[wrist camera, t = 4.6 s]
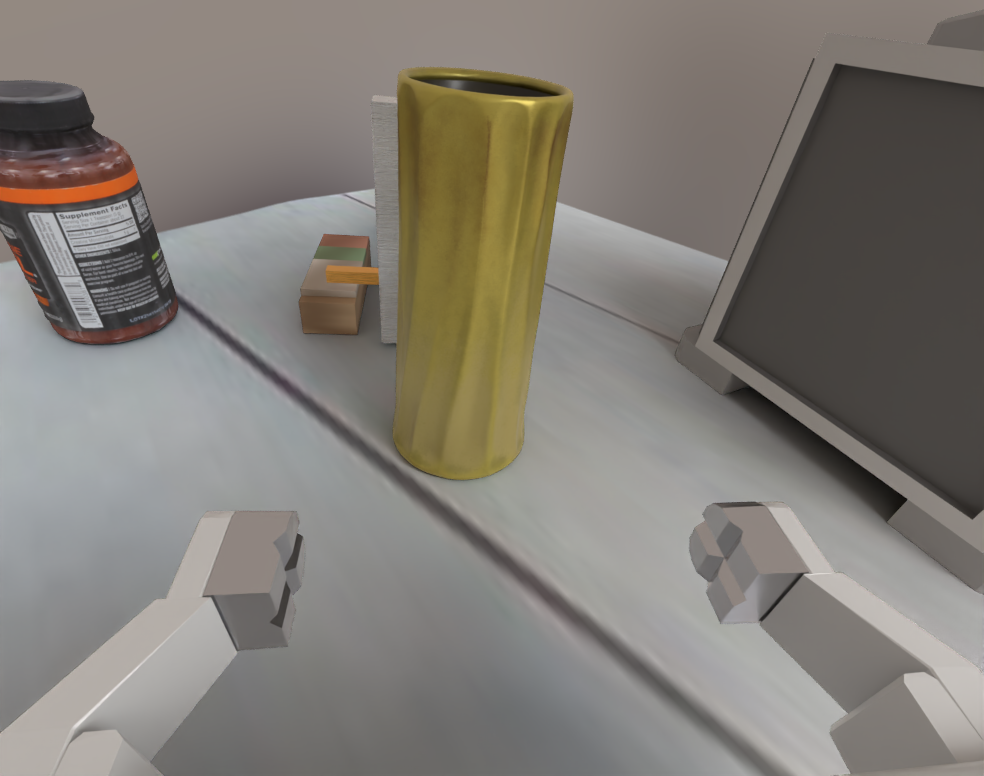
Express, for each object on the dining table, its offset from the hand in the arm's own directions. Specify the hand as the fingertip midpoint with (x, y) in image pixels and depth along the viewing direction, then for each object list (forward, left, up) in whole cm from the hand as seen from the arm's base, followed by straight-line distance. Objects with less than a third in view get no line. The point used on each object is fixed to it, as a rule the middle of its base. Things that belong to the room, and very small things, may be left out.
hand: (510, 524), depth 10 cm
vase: (+2, -11, -8) cm, 14 cm away
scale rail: (+12, -22, -8) cm, 26 cm away
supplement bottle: (+22, -16, -8) cm, 29 cm away
